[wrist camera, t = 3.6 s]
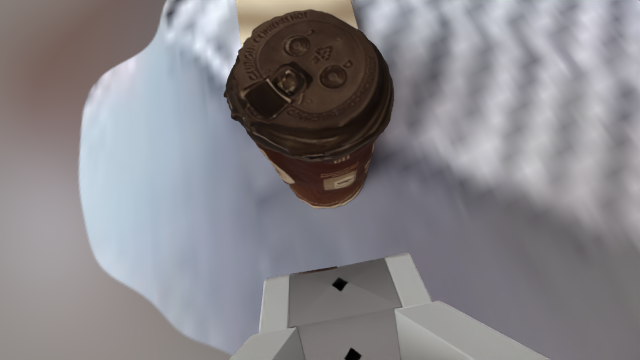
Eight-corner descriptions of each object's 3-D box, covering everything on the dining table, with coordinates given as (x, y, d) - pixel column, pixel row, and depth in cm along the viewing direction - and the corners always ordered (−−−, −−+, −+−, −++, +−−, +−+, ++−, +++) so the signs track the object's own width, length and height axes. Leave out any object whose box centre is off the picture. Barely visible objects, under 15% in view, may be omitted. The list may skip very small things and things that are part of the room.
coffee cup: (268, 227, 30) (209, 151, 18) (267, 128, 33) (215, 6, 21) (387, 217, 30) (408, 132, 18) (374, 117, 33) (385, -14, 21)
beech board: (233, -36, 40) (230, -47, 39) (333, -56, 40) (333, -67, 39) (252, 120, 33) (249, 113, 32) (373, 97, 33) (373, 89, 32)
